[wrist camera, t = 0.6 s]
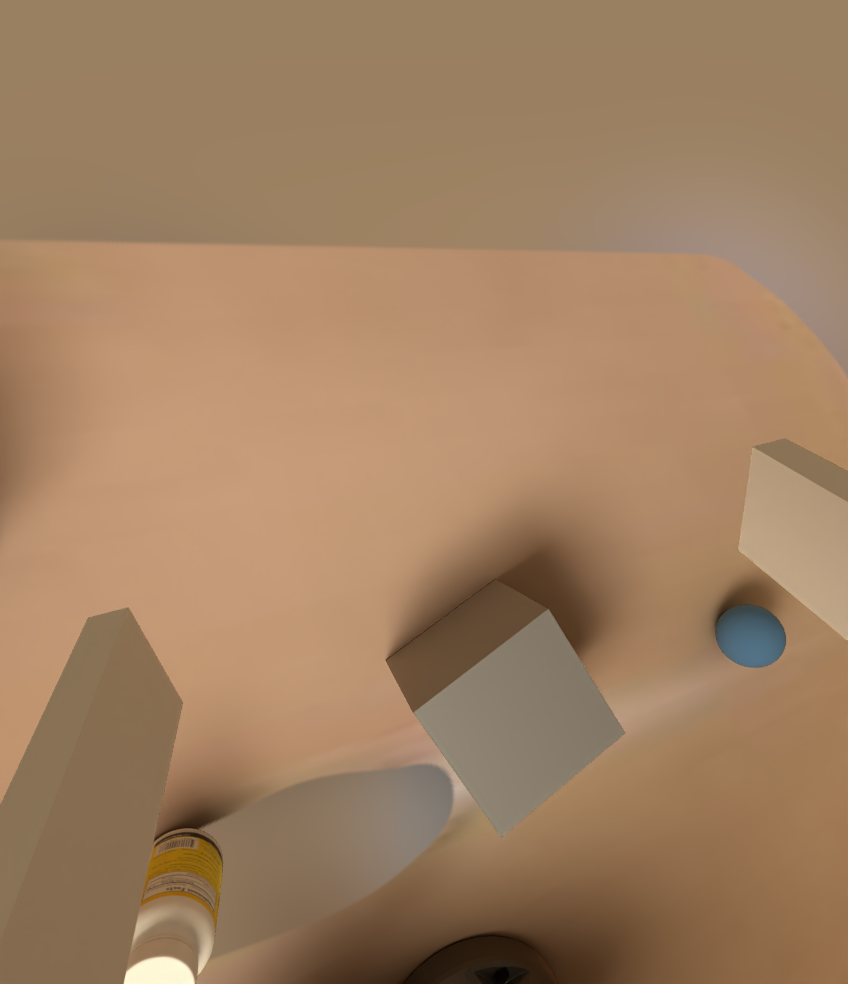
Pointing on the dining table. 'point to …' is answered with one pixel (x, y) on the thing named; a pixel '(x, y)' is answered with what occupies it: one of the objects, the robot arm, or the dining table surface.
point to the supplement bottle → (177, 910)
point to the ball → (750, 636)
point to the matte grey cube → (505, 701)
